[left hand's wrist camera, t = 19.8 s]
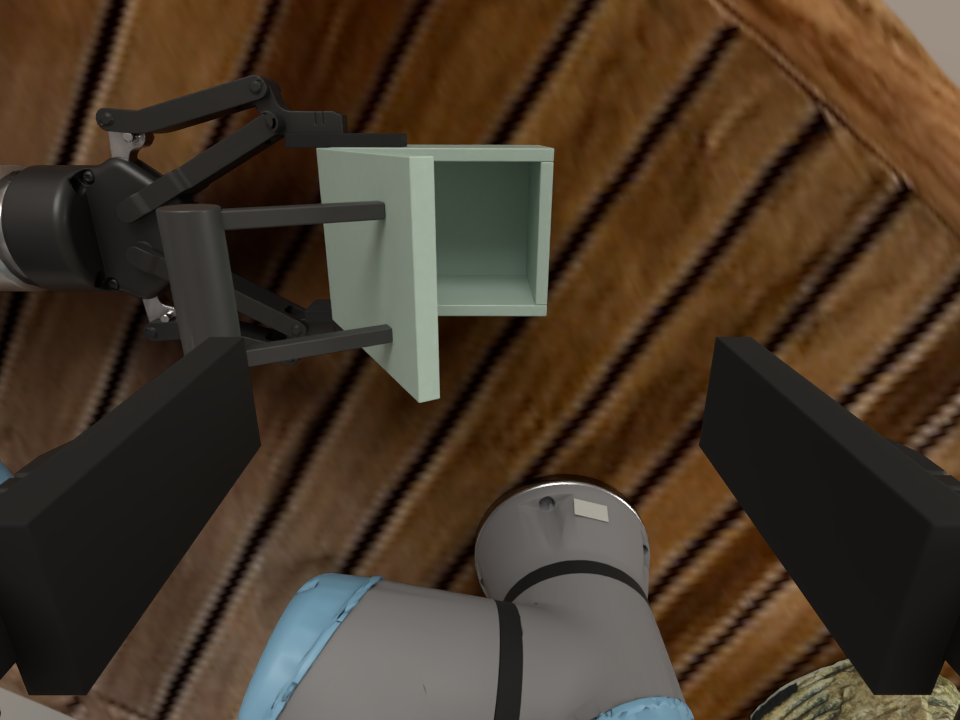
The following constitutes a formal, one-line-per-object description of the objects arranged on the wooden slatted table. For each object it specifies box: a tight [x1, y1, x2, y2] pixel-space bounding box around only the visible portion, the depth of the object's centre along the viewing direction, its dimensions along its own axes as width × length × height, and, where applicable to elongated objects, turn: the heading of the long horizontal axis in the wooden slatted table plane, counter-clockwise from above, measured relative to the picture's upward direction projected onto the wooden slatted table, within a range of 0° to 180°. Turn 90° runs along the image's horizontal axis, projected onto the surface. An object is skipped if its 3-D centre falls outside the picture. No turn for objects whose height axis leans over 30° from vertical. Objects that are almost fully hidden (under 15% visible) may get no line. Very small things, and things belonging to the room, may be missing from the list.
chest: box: [330, 145, 554, 316], centre depth 38 cm, size 12×10×9 cm
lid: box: [156, 148, 440, 403], centre depth 26 cm, size 13×10×9 cm
